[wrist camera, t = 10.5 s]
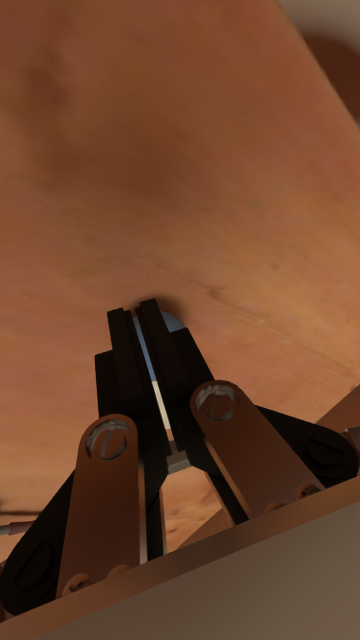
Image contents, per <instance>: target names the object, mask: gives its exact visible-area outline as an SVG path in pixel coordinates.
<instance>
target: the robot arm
mask: <svg viewBox="0 0 360 640" xmlns="http://www.w3.org/2000/svg"><path fill="white" fill-rule="evenodd" d="M135 311H136V314H137V318H138V321H139V324H140V328H141V331H142V334H143V338H144V341H145V344H146V348H147V351H148V354H149V358H150V361H151V365H152V368H153V371H154V374H155V378H156V381H157V384H158V388H159V391H160V394H161V398H162V401H163V404H164V408H165V411H166V414H167V418H168V421H169V424H170V427H171V431H172V434H173V437H174V441H175V444H176V447H177V451H178V453H179V452H182V451H184V450H185V453H186V456H187V459H188V461H189V463H190V465H192V466H194V467H196V468H198V469H201V470H203V471H204V473H205V476H206V478H207V479H208V481H209V483H210V485H211V487H212V489H213V491H214V493H215V494H216V496H217V498H218V500H219V502H220V504H221V506H222V508H223V509H224V511H225V513H226V515H227V517H228V519H229V520H230V522H231V524H232V526H233V527H232V528H229V529H226V530H224V531H222V532H219V533H217V534H214V535H212V536H209V537H207V538H204V539H202V540H200V541H197V542H195V543H192V544H190V545H187V546H185V547H182V548H180V549H178V550H175V551H173V552H170V553H168V554H167V542H166V529H165V517H164V505H163V492H162V488H161V486H162V484H163V482H164V481H165V479H166V477H167V475H168V473H169V471H168V468H169V466H168V462H167V458H166V457H168V456H171V455H173V454H172V451H171V447H170V443H169V440H168V436H167V433H166V429H165V426H164V422H163V419H162V415H161V412H160V408H159V405H158V401H157V398H156V394H155V391H154V387H153V384H152V380H151V377H150V373H149V370H148V366H147V363H146V360H145V357H144V354H143V350H142V347H141V344H140V341H139V337H138V334H137V331H136V328H135V325H134V321H133V318H132V315H131V312H130V310H126V311H124V310H123V307H122V308H118V309H115V310H111V311H108V312H107V317H108V323H109V330H110V336H111V342H112V349H113V350H110V351H106V352H103V353H100V354H97V355H95V371H96V385H97V398H98V411H99V419H98V420H96V421H95V422H93V423H92V424H91V425H90V426H89V427H88V428H87V429H86V431H85V432H84V434H83V435H82V437H81V440H80V444H79V448H78V455H77V461H76V468H75V470H74V471H73V472H72V474H71V475H70V476H69V477H68V479H67V480H66V481H65V483H64V484H63V485H62V486H61V488H60V489H59V490H58V492H57V493H56V494H55V496H54V497H53V498H52V499H51V501H50V502H49V503H48V505H47V506H46V507H45V508H44V510H43V511H42V512H41V514H40V515H39V516H38V518H37V519H36V520H35V521H34V523H33V524H32V525H31V527H30V528H29V529H28V530H27V532H26V533H25V534H24V536H23V537H22V538H21V539H20V541H19V542H18V543H17V545H16V546H15V547H14V549H13V550H12V552H11V554H10V555H9V557H8V558H7V559H6V560H5V561H3V562H2V563H0V640H360V426H357V427H348V428H346V430H345V432H335V431H333V430H331V429H328V428H325V427H322V426H319V425H316V424H313V423H310V422H307V421H304V420H301V419H298V418H294V417H291V416H288V415H285V414H282V413H279V412H276V411H273V410H270V409H266V408H263V407H260V406H257V405H254V404H253V402H252V401H251V400H250V399H249V398H248V397H247V395H246V394H245V393H244V392H243V391H242V389H240V388H239V387H238V386H237V385H236V384H234V383H231V382H229V381H225V380H215V379H214V377H213V375H212V373H211V372H210V370H209V368H208V366H207V364H206V362H205V360H204V358H203V356H202V354H201V352H200V351H199V349H198V347H197V345H196V343H195V341H194V339H193V337H192V335H191V333H190V331H189V330H188V328H187V327H185V328H182V329H179V330H176V331H172V332H169V330H168V328H167V325H166V323H165V321H164V318H163V316H162V314H161V311H160V309H159V307H158V304H157V302H156V300H155V298H153V299H150V300H146V301H143V302H140V307H137V308H135Z"/></svg>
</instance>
